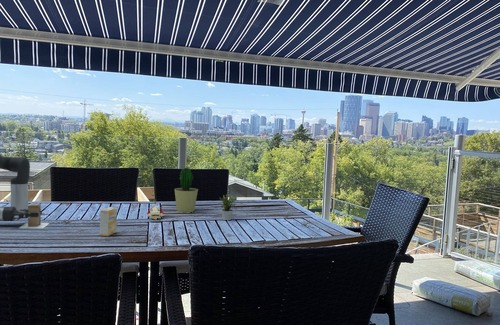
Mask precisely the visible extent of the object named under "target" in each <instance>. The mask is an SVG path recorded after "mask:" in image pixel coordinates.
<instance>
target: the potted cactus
mask: <svg viewBox="0 0 500 325" xmlns="http://www.w3.org/2000/svg"><path fill="white" fill-rule="evenodd" d="M179 176H180V177H179V180H180V184H179V185H180V186H181V187H177V188H176V187H175V188H174V195H175V204H176V212H177V211H178V212H177V213H180V212H192V213H194V212H195V209H196V204H197V198H198V197H197V196H198V192H199V189H198V188H193V187H191V186H192V181H193V179H194V176H193V173H192V172H191V169H190V167H183V168H181V171H180V173H179ZM193 211H194V212H193Z"/></svg>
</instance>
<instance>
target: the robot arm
mask: <svg viewBox="0 0 500 325" xmlns="http://www.w3.org/2000/svg"><path fill="white" fill-rule="evenodd" d="M0 170H5V171H9V172H11V173H17V174H16V176H15V177H12V178H11V179H10V206H0V222H14V221H16V220H22V219H27V220H28V218H30V217H38V216H39V213H31V214H30V213H28V206H29V180H30V172H31V171H30V170H31V164H30V160H29V158H27V157H19V156H18V157H17V156H16V157H15V156H12V157H11V156H4V155H1V154H0ZM41 215H43V211H42V210H41Z"/></svg>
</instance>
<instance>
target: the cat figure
mask: <svg viewBox="0 0 500 325" xmlns="http://www.w3.org/2000/svg"><path fill="white" fill-rule="evenodd" d="M164 214H165V213H164V210H163V209H162V208H160V207H157V200H154V207H151V208H149V209H148V211H147V213H146V216H147V217H148V218H149V219H152V220H157V218H158V219H161V218H162V217H163V216H164Z"/></svg>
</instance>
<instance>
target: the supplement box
mask: <svg viewBox="0 0 500 325" xmlns="http://www.w3.org/2000/svg"><path fill="white" fill-rule="evenodd" d="M117 217H118V207H111V206H109V207H105V208H103V209H100V211H99V236H101V237H109V236H111V235H113V234H116V233H117V225H118V224H117V222H118V221H117Z"/></svg>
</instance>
